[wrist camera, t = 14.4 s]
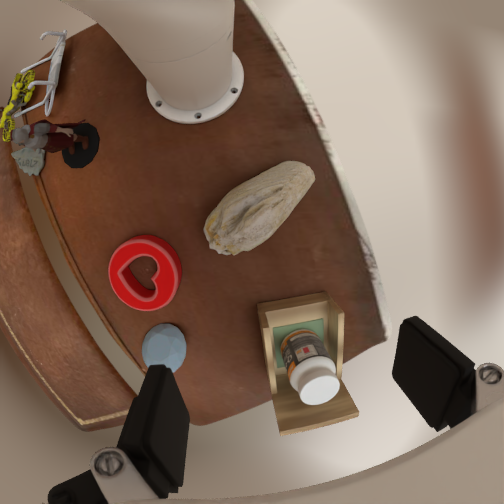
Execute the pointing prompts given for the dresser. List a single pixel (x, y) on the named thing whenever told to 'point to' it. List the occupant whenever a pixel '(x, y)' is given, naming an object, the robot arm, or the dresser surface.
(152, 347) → the gemstone
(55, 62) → the wall mount rack
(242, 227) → the fossil tooth
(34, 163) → the stone tool
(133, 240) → the decorative ornament
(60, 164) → the dresser surface
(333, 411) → the shelf
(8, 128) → the toy motorcycle
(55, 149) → the figurine
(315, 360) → the pill bottle
